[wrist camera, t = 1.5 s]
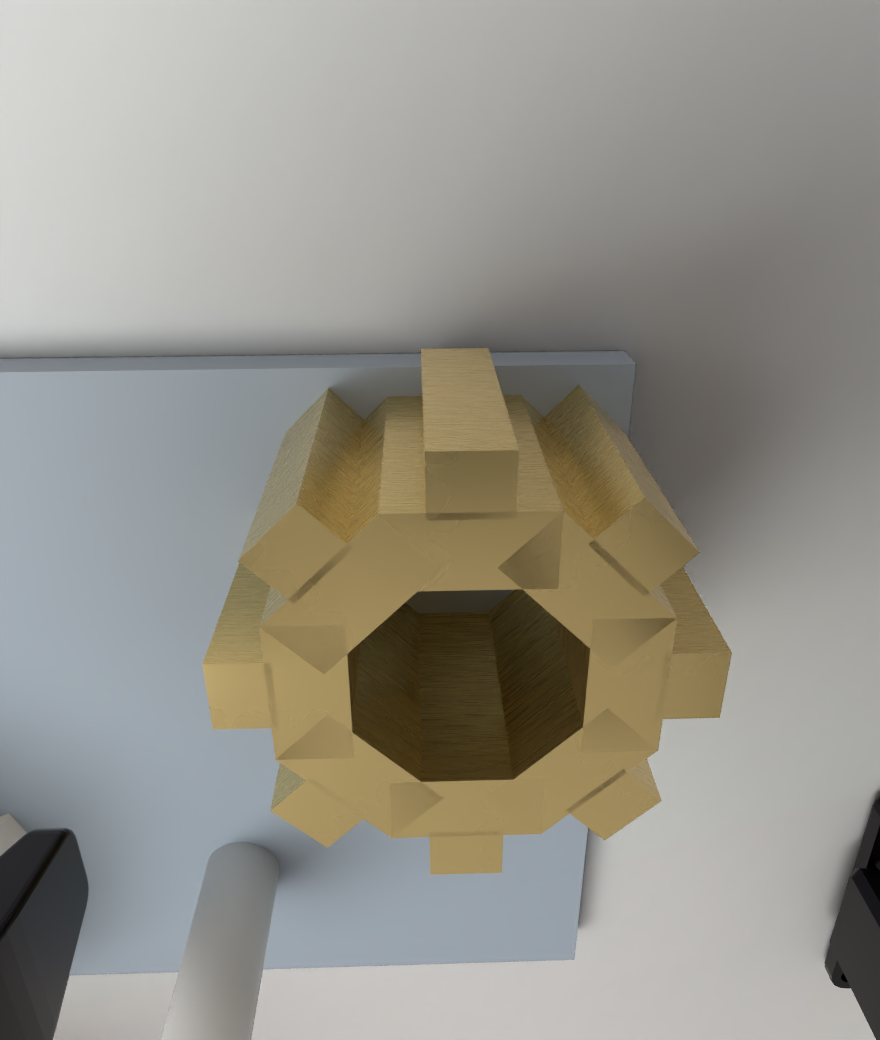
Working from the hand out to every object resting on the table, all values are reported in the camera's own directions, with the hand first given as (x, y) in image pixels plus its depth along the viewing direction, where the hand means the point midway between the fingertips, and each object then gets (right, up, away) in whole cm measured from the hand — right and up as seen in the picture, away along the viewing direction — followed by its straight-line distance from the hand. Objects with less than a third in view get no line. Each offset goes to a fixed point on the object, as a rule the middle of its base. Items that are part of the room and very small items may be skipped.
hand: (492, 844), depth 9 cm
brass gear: (0, +3, +6) cm, 7 cm away
